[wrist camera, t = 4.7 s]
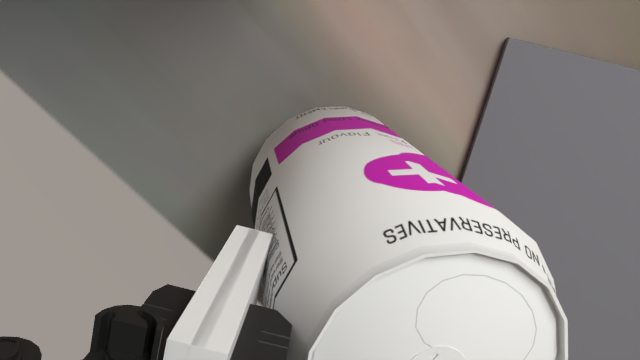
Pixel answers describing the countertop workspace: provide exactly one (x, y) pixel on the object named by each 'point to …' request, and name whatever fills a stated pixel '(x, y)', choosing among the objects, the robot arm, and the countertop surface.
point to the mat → (569, 184)
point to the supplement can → (393, 252)
